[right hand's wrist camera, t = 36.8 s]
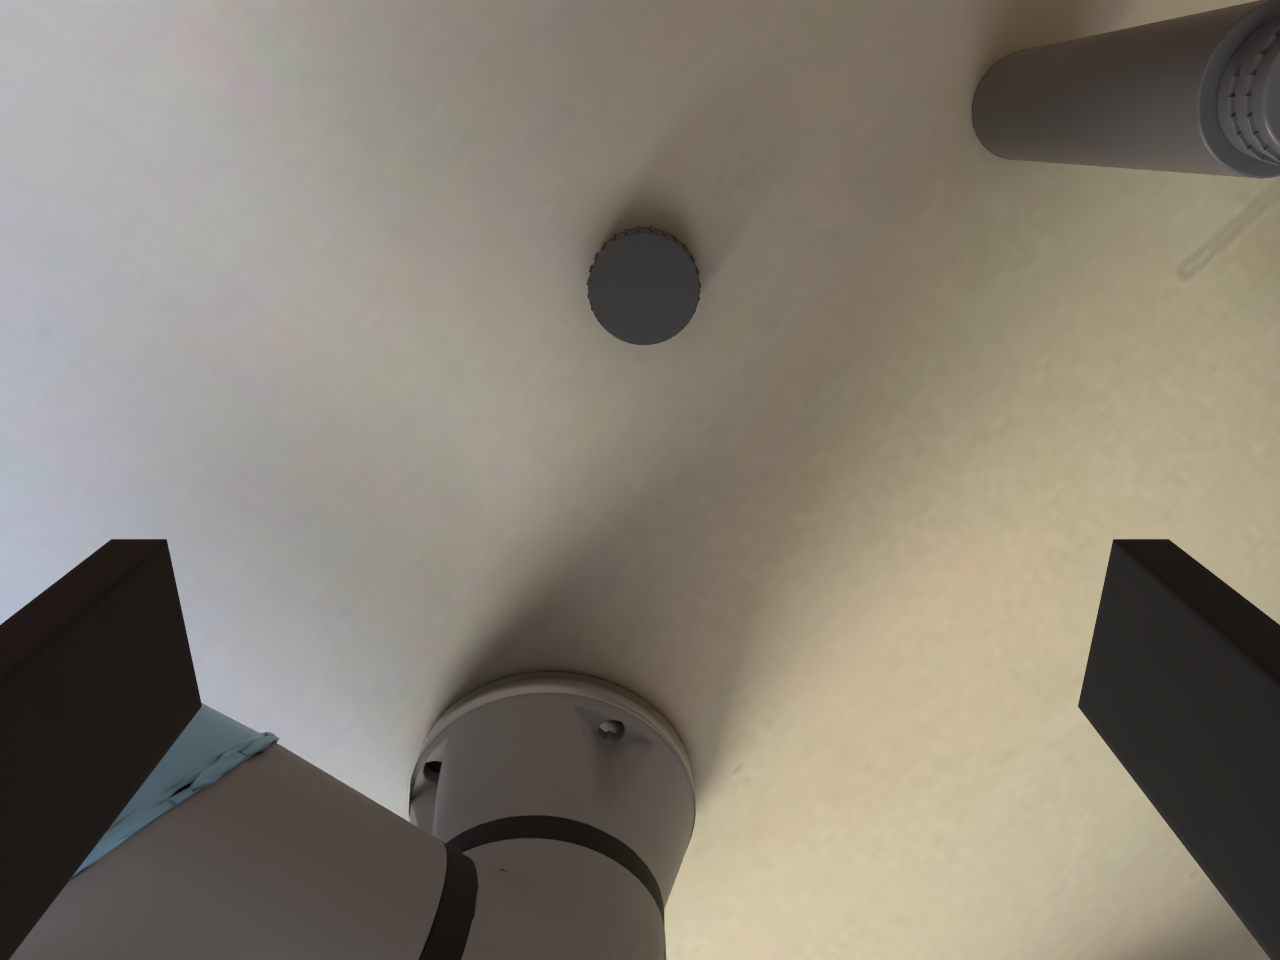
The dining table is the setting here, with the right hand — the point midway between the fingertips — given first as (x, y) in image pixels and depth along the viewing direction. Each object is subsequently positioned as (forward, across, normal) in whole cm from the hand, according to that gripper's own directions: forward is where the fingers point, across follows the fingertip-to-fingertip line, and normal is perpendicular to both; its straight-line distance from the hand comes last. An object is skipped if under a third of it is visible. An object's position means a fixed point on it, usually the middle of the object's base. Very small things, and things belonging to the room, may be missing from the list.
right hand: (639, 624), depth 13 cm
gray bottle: (+29, +16, +8) cm, 34 cm away
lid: (+27, 0, 0) cm, 27 cm away
